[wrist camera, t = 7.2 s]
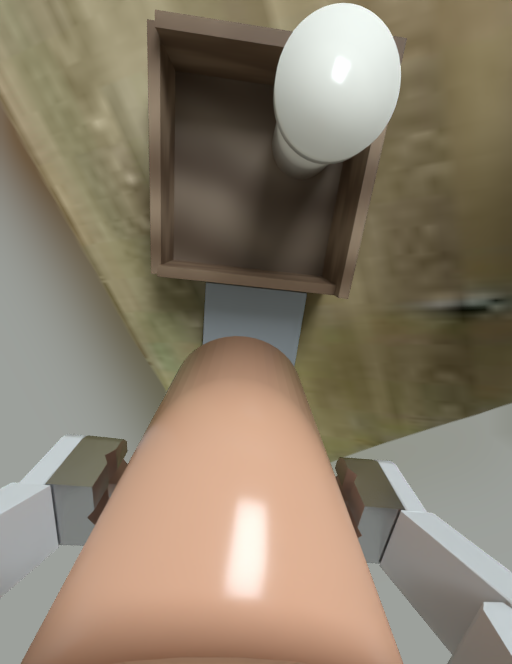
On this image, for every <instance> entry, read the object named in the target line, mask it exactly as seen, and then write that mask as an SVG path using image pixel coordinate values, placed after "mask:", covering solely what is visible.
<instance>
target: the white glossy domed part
mask: <svg viewBox="0 0 512 664" xmlns="http://www.w3.org/2000/svg"><path fill="white" fill-rule="evenodd" d="M400 81H401V66H400V59H399V54H398V50H397V46H396V44H395V41H394V39H393V36H392V35H391V33H390V31H389V29H388V28H387V26H386V25H385V24H384V23H383V21H382V20H381V19H380V18H379V17H378V16H377V15H375V14H374V13H373V12H371V11H370V10H368V9H366V8H364V7H362V6H359V5H355V4H349V3H338V4H332V5H328V6H325V7H323V8H321V9H318V10H316V11H315V12H313V13H312V14H310V15H309V16H308V17H306V18H305V19H304V20H303V21H302V22H301V23H300V24H299V25H298V26H297V27H296V29H295V30H294V31H293V33H292V34H291V36H290V37H289V39H288V41H287V42H286V44H285V46H284V48H283V51H282V53H281V56H280V59H279V63H278V66H277V72H276V78H275V84H274V91H273V106H274V114H275V119H276V126H275V130H274V134H273V139H272V151H273V156H274V159H275V162H276V164H277V165H278V167H279V168H280V169H281V171H282V172H284V173H285V174H286V175H288V176H290V177H292V178H295V179H307V178H310V177H313V176H315V175H317V174H318V173H319V172H320V171H322V170H323V169H324V168H325V167H326V166H328V165H329V164H336V163H340V162H343V161H346V160H348V159H350V158H352V157H354V156H355V155H357V154H358V153H359V152H361V151H362V150H364V149H365V148H366V147H368V146H369V145H370V144H371V143H372V142H373V141H374V140H375V139H376V138H377V137H378V136H379V135H380V134H381V133H382V131H383V130H384V128H385V127H386V125H387V124H388V122H389V120H390V118H391V116H392V114H393V111H394V109H395V106H396V103H397V99H398V96H399V90H400Z"/></svg>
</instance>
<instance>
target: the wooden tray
mask: <svg viewBox="0 0 512 664" xmlns="http://www.w3.org/2000/svg"><path fill="white" fill-rule="evenodd" d="M292 33H293V32H292V31H285V30H279V29H273V28H266V27H260V26H254V25H248V24H241V23H235V22H229V21H223V20H216V19H210V18H204V17H198V16H191V15H185V14H179V13H173V12H166V11H160V10H155V21H154V20H148V19H147V45H148V108H149V171H150V235H151V273H152V274H157V276H159V277H168V278H178V279H187V280H197V281H206V282H215V283H225V284H234V285H244V286H253V287H263V288H272V289H282V290H291V291H300V292H310V293H319V294H329V295H335V296H336V297H338V298H345V299H348V297H349V293H350V289H351V284H352V280H353V275H354V271H355V266H356V262H357V258H358V253H359V249H360V244H361V240H362V235H363V231H364V226H365V222H366V218H367V213H368V209H369V204H370V200H371V195H372V191H373V187H374V182H375V178H376V173H377V169H378V164H379V160H380V155H381V151H382V147H383V142H384V138H385V133H386V129H387V125H386V127H385V128H384V130H383V131H382V133H381V134H380V135H379V136H378V137H377V138H376V139H375V140H374V141H373V142H372V143H371V144H370V145H369V146H368V147H366V148H365V149H364V150H362V151H361V152H359V153H358V154H357V155H355V156H354V157H352V158H350V159H348V160H346V161H343V162H340V163H336V164H329V165H328V166H326V167H325V168H324V169H323V170H322V171H320V172H319V173H318V174H317V175H315V176H313V177H310V178H307V179H295V178H292V177H290V176H288V175H286V174H285V173H284V172H282V171H281V169H280V168H279V167H278V165H277V164H276V162H275V159H274V156H273V151H272V139H273V134H274V130H275V126H276V119H275V114H274V106H273V91H274V84H275V78H276V72H277V66H278V63H279V59H280V56H281V53H282V51H283V48H284V46H285V44H286V42H287V41H288V39H289V37H290V36H291V34H292ZM393 39H394V41H395V44H396V46H397V50H398V54H399V59H400V66H401V62H402V58H403V53H404V49H405V45H406V40H407V38H402V37H396V36H394V37H393Z"/></svg>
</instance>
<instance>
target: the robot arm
mask: <svg viewBox="0 0 512 664" xmlns="http://www.w3.org/2000/svg"><path fill="white" fill-rule="evenodd" d="M126 453H127V441H125V440H124V439H116V438H107V437H97V436H83V435H75V434H67V435H65V436H63V437H62V438H61V439H60V440H59V441H58V442H57V443H56V444H55V445H54V446H53V447H52V448H51V449H50V451H48V453H47V454H46V455H45V456H44V457H43V458H42V459H41V460H40V461H39V462H38V463H37V464H36V465H35V466H34V467H33V468H32V470H31V471H30V472H29V473H28V474H27V475H26V476H25V477H24V478H23V479H22V480H21V481H20V482H19V483H10V484H8V485H7V486H4V487H3V488H1V489H0V598H1V597H2V596H3V595H4V594H6V593H7V592H8V591H9V590H10V589H11V588H13V587H14V586H15V585H16V584H17V583H18V582H19V581H20V580H22V579H23V578H24V577H25V576H26V575H28V574H29V573H30V572H31V571H32V570H33V569H34V568H36V567H37V566H38V565H39V564H40V563H41V562H43V561H44V560H45V559H46V558H47V557H48V556H49V555H51V554H52V553H53V552H54V551H55V550H56V549H57V548H59V545H80V546H81V545H82V546H84V545H85V543H86V541H87V539H88V537H89V536H90V534H91V532H92V530H93V528H94V526H95V524H96V523H97V521H98V519H99V517H100V515H101V513H102V511H103V510H104V508H105V506H106V504H107V502H108V500H109V498H110V496H111V495H112V493H113V491H114V489H115V487H116V485H117V483H118V482H119V480H120V478H121V476H122V474H123V472H124V470H125V469H126V467H127V465H128V464H127V463H126V462H125V461H124V459H123V458H124V457H125V455H126ZM335 469H336V472H337V474H338V475H337V476H336V480H337V483H338V486H339V488H340V491H341V494H342V497H343V499H344V502H345V505H346V508H347V510H348V513H349V516H350V519H351V521H352V524H353V527H354V530H355V532H356V535H357V538H358V541H359V543H360V546H361V549H362V552H363V554H364V557H365V560H366V562H367V563H378V564H380V567H381V568H382V569H383V570H384V571H385V573H386V574H387V575H388V576H389V578H390V579H391V580H392V581H393V583H394V584H395V585H396V586H397V587H398V589H399V590H400V591H401V592H402V594H403V595H404V596H405V597H406V598H407V600H408V601H409V602H410V603H411V605H412V606H413V607H414V608H415V610H416V611H417V612H418V613H419V614H420V616H421V617H422V618H423V619H424V621H425V622H426V623H427V624H428V625H429V627H430V628H431V629H432V630H433V632H434V633H435V634H436V635H437V636H438V638H439V639H440V640H441V641H442V643H443V644H444V645H445V646H446V648H447V649H448V650H449V651H450V652H451V654H452V657H451V658H450V660H449V662H448V664H512V572H511V571H510V570H508V569H507V568H506V567H504V566H503V565H502V564H500V563H499V562H498V561H496V560H495V559H494V558H492V557H491V556H490V555H488V554H487V553H486V552H484V551H483V550H482V549H481V548H479V547H478V546H476V545H475V544H474V543H473V542H471V541H470V540H469V539H467V538H466V537H465V536H463V535H462V534H461V533H459V532H458V531H457V530H455V529H454V528H453V527H451V526H450V525H449V524H447V523H446V522H444V521H443V520H442V519H441V518H439V517H438V516H437V515H435V514H434V513H430V512H427V511H426V509H425V508H424V506H423V505H422V503H421V502H420V501H419V499H418V497H417V496H416V494H415V493H414V491H413V490H412V488H411V487H410V485H409V484H408V482H407V481H406V479H405V478H404V476H403V475H402V473H401V472H400V470H399V469H398V467H397V465H396V464H395V463H394V462H392V461H390V460H389V461H388V460H369V459H356V458H343V457H340V458H339V459H338V461H337V463H336V467H335Z"/></svg>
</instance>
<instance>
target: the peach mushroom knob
mask: <svg viewBox="0 0 512 664" xmlns="http://www.w3.org/2000/svg"><path fill="white" fill-rule="evenodd" d="M21 664H403V662H402V659H401V656H400V653H399V650H398V648H397V645H396V642H395V640H394V637H393V634H392V632H391V628H390V626H389V623H388V620H387V617H386V615H385V612H384V609H383V607H382V604H381V601H380V599H379V596H378V593H377V590H376V587H375V585H374V582H373V579H372V576H371V573H370V571H369V568H368V566H367V563H366V560H365V557H364V554H363V552H362V549H361V546H360V543H359V541H358V538H357V535H356V532H355V530H354V527H353V524H352V521H351V519H350V516H349V513H348V510H347V508H346V505H345V502H344V499H343V497H342V494H341V491H340V488H339V486H338V483H337V480H336V477H335V475H334V472H333V469H332V467H331V464H330V461H329V458H328V455H327V453H326V450H325V447H324V444H323V442H322V439H321V436H320V433H319V431H318V428H317V425H316V423H315V420H314V417H313V414H312V412H311V409H310V406H309V403H308V401H307V398H306V395H305V392H304V390H303V387H302V384H301V381H300V379H299V376H298V373H297V371H296V369H295V367H294V366H293V364H292V363H291V361H290V360H289V359H288V358H287V357H286V356H285V354H283V353H282V352H281V351H280V350H279V349H277V348H276V347H274V346H272V345H271V344H269V343H266V342H264V341H262V340H259V339H255V338H251V337H245V336H230V337H223V338H218V339H215V340H212V341H210V342H208V343H206V344H204V345H202V346H200V347H199V348H197V349H196V350H194V351H193V352H192V353H191V354H190V355H189V356H188V357H187V358H186V359H185V360H184V362H183V363H182V365H181V366H180V368H179V370H178V372H177V374H176V375H175V377H174V379H173V381H172V383H171V385H170V387H169V388H168V390H167V392H166V394H165V396H164V398H163V400H162V402H161V403H160V405H159V407H158V409H157V411H156V413H155V415H154V416H153V418H152V420H151V422H150V424H149V426H148V428H147V430H146V431H145V433H144V435H143V437H142V439H141V441H140V442H139V444H138V446H137V448H136V450H135V452H134V454H133V455H132V457H131V460H130V461H129V463H128V465H127V467H126V469H125V470H124V472H123V474H122V476H121V478H120V480H119V482H118V483H117V485H116V487H115V489H114V491H113V493H112V495H111V496H110V498H109V500H108V502H107V504H106V506H105V508H104V510H103V511H102V513H101V515H100V517H99V519H98V521H97V523H96V524H95V526H94V528H93V530H92V532H91V534H90V536H89V537H88V539H87V541H86V543H85V545H84V547H83V549H82V551H81V553H80V554H79V556H78V558H77V560H76V562H75V564H74V566H73V567H72V569H71V571H70V573H69V575H68V577H67V578H66V580H65V582H64V584H63V586H62V588H61V590H60V592H59V593H58V595H57V597H56V599H55V601H54V603H53V604H52V606H51V608H50V610H49V612H48V614H47V616H46V618H45V619H44V621H43V623H42V625H41V627H40V629H39V631H38V632H37V634H36V636H35V638H34V640H33V642H32V644H31V646H30V647H29V649H28V651H27V653H26V655H25V657H24V659H23V661H22V662H21Z"/></svg>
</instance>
